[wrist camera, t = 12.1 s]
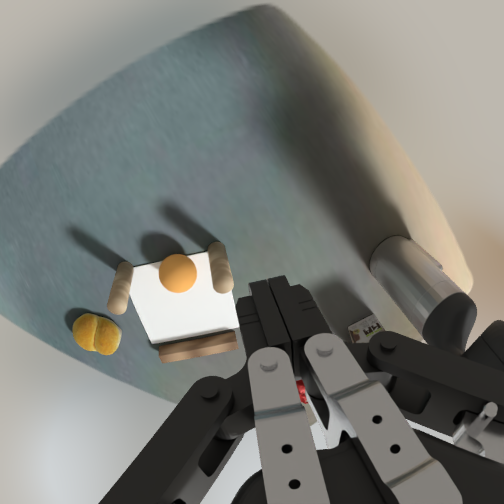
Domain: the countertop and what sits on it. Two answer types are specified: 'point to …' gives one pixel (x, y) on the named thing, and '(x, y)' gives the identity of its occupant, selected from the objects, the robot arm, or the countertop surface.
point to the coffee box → (365, 329)
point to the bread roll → (97, 333)
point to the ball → (177, 273)
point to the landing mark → (181, 304)
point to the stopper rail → (198, 347)
